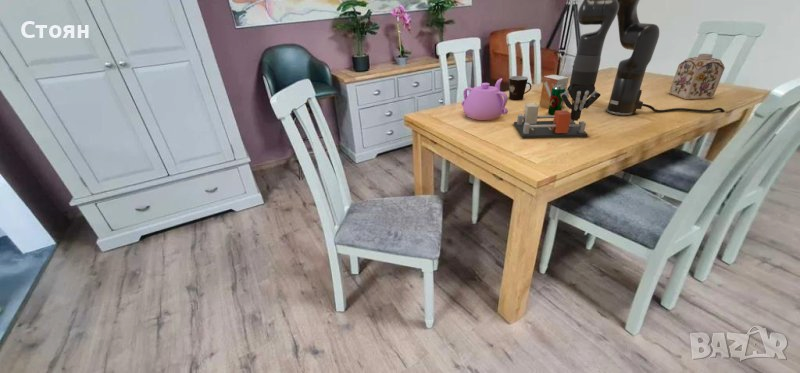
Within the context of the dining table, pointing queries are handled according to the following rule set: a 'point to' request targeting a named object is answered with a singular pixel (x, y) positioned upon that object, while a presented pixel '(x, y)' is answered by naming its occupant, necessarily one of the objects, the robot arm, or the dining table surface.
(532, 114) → the ivory marker
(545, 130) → the score rack
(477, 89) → the teapot
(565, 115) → the terracotta marker
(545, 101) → the small box
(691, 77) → the decorative jar
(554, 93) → the soda can
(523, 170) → the dining table surface
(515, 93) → the coffee mug
